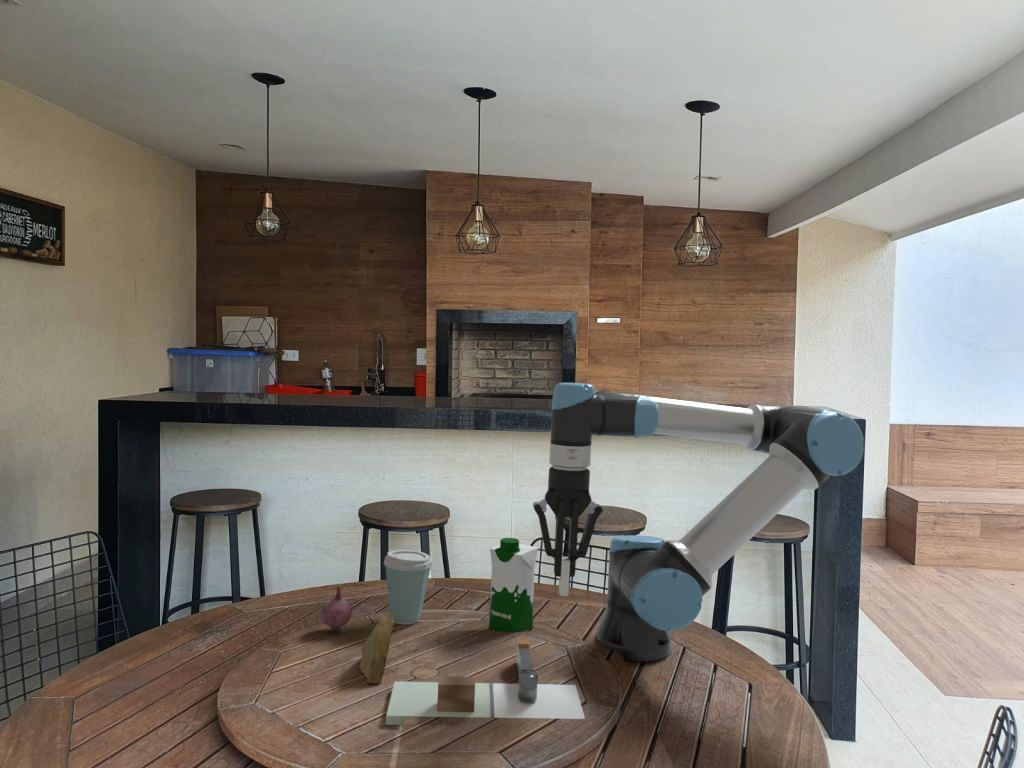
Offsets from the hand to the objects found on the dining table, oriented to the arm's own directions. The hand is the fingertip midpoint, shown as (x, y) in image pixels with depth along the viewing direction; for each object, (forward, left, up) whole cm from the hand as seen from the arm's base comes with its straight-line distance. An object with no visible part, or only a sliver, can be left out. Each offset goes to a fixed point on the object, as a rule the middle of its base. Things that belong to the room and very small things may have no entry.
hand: (563, 593), depth 137 cm
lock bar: (+7, +5, -14) cm, 17 cm away
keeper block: (+19, +15, -15) cm, 28 cm away
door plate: (+14, +12, -16) cm, 24 cm away
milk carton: (+8, -23, -16) cm, 29 cm away
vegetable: (+45, -20, -16) cm, 52 cm away
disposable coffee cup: (+31, -27, -16) cm, 44 cm away
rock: (+35, -1, -16) cm, 39 cm away
